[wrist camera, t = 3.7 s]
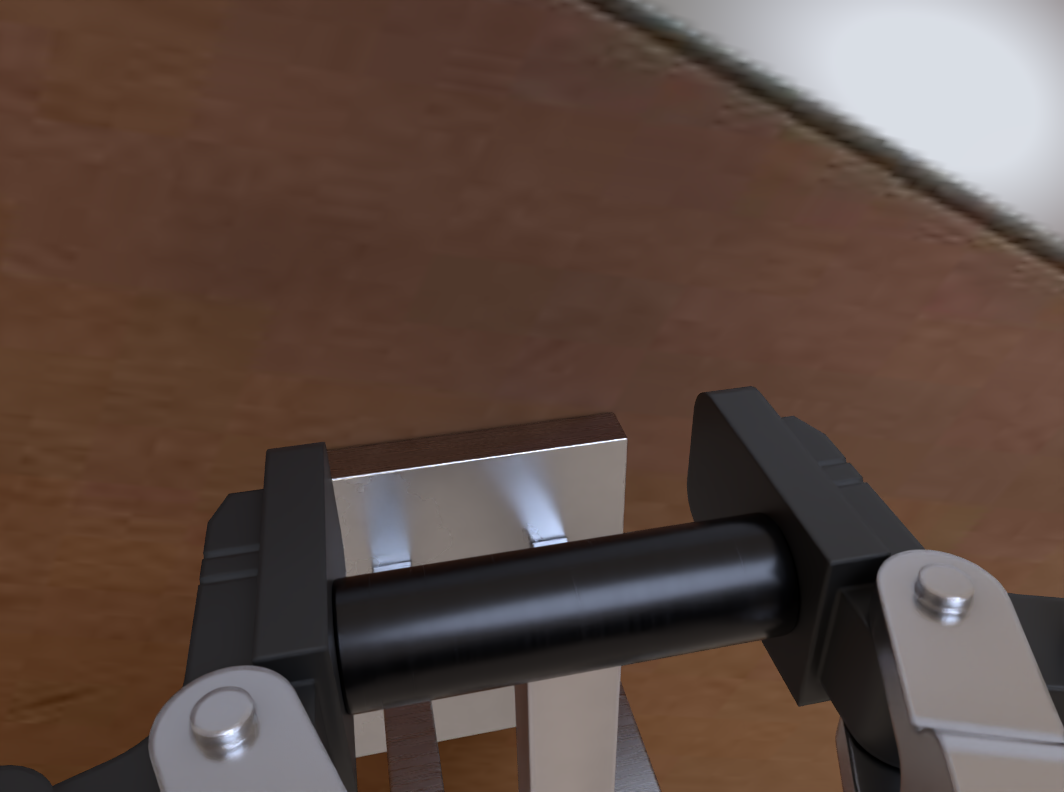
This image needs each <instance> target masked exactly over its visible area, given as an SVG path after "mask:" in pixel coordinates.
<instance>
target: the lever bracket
mask: <svg viewBox="0 0 1064 792" xmlns="http://www.w3.org/2000/svg"><path fill="white" fill-rule="evenodd" d="M627 441H628V439H627V437H626V435H625V433H624V431H623V429H622V427H621V425H620V423H619V422H618V420H617V418H616V416H615V414H614V413H608V414H600V415H593V416H585V417H578V418H570V419H563V420H555V421H548V422H540V423H533V424H526V425H518V426H511V427H503V428H496V429H488V430H481V431H473V432H466V433H458V434H451V435H443V436H436V437H428V438H421V439H413V440H406V441H398V442H391V443H383V444H376V445H369V446H361V447H354V448H346V449H339V450H331V451H327V454H328V459H329V465H330V471H331V477H332V482H333V488H334V494H335V500H336V505H337V511H338V517H339V522H340V528H341V534H342V541H343V548H344V556H345V566H346V577H348V576H355V575H361V574H368V573H374V572H380V571H387V570H393V569H399V568H406V567H412V566H418V565H425V564H431V563H437V562H444V561H450V560H456V559H463V558H469V557H475V556H482V555H488V554H494V553H501V552H507V551H513V550H520V549H526V548H532V547H539V546H545V545H551V544H558V543H564V542H570V541H577V540H583V539H589V538H596V537H602V536H608V535H615V534H621V533H623V522H624V501H625V481H626V461H627ZM513 727H516V714H515V690H514V686H509V687H503V688H498V689H492V690H487V691H481V692H476V693H470V694H465V695H460V696H454V697H449V698H443V699H438V700H432V701H427V702H421V703H416V704H411V705H405V706H400V707H394V708H389V709H383V710H378V711H372V712H367V713H362V714H356V715H354V733H355V752H356V757H361V756H367V755H372V754H377V753H382V752H387V758H388V770H389V782H390V792H444V785H443V778H442V771H441V764H440V757H439V750H438V743H437V742H440V741H445V740H450V739H455V738H460V737H466V736H471V735H476V734H481V733H487V732H492V731H497V730H502V729H507V728H513ZM614 792H661V789H660V786H659V783H658V781H657V778H656V775H655V773H654V770H653V767H652V765H651V762H650V759H649V756H648V754H647V751H646V748H645V746H644V743H643V740H642V737H641V735H640V732H639V729H638V727H637V724H636V721H635V719H634V716H633V713H632V710H631V708H630V705H629V702H628V700H627V697H626V694H625V692H624V689H623V686H622V683H621V681H620V694H619V713H618V732H617V750H616V769H615V788H614Z"/></svg>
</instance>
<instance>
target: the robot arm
mask: <svg viewBox="0 0 1064 792" xmlns="http://www.w3.org/2000/svg"><path fill="white" fill-rule="evenodd" d="M687 493H688V501H689V506H690V510H691V513H692V516H693V519H694V522H697V521H704V520H710V519H716V518H723V517H729V516H735V515H742V514H748V513H754V512H760V513H764V514H766V515H768V516H769V517H771V518H772V519H773V520H774V521H775V522H776V524H777V525H778V526H779V528H780V529H781V531H782V533H783V535H784V537H785V538H786V541H787V543H788V545H789V548H790V550H791V553H792V556H793V559H794V563H795V567H796V571H797V576H798V583H799V592H800V609H799V616H798V620H797V623H796V626H795V627H794V629H793V630H792V631H791V632H790V633H789V634H787V635H785V636H781V637H775V638H770V639H764V640H761V641H762V643H763V644H764V646H765V648H766V650H767V651H768V653H769V655H770V657H771V659H772V660H773V662H774V664H775V666H776V667H777V669H778V671H779V673H780V674H781V676H782V678H783V680H784V682H785V683H786V685H787V687H788V689H789V690H790V692H791V694H792V696H793V697H794V699H795V701H796V703H797V705H798V706H804V705H809V704H814V703H819V702H824V701H829V700H831V701H832V703H833V705H834V706H835V708H836V710H837V711H838V713H839V715H840V719H839V723H838V727H837V731H836V748H837V755H838V761H839V768H840V774H841V780H842V787H843V792H1064V598H1056V597H1044V596H1032V595H1020V594H1012V593H1007V592H1006V590H1005V589H1004V588H1003V586H1002V585H1001V584H1000V583H999V582H998V581H997V580H996V579H995V578H994V577H993V576H992V575H991V574H989V573H988V572H987V571H985V570H984V569H982V568H981V567H979V566H977V565H976V564H974V563H972V562H970V561H968V560H966V559H963V558H961V557H958V556H955V555H952V554H949V553H945V552H940V551H934V550H925V549H924V547H923V546H922V545H921V544H920V543H919V542H918V541H917V539H916V538H915V537H914V536H913V535H912V534H911V533H910V531H909V530H908V529H907V528H906V527H905V526H904V524H903V523H902V522H901V521H900V520H899V519H898V518H897V516H896V515H895V514H894V513H893V512H892V511H891V510H890V508H889V507H888V506H887V505H886V504H885V503H884V501H883V500H882V499H881V498H880V497H879V496H878V495H877V493H876V492H875V491H874V490H873V489H872V488H871V487H870V485H869V484H868V483H864V482H863V477H862V476H861V475H860V474H859V473H858V472H857V470H856V469H855V468H854V467H853V466H852V465H851V464H850V463H846V458H845V457H844V456H843V454H842V453H841V452H840V451H839V450H838V449H837V447H836V446H835V445H834V444H833V443H832V442H831V441H830V439H829V438H828V437H827V436H826V435H825V434H823V433H822V432H820V431H818V430H817V429H815V428H813V427H812V426H810V425H808V424H807V423H805V422H803V421H801V420H800V419H798V418H796V417H795V416H789V417H782V418H781V417H780V416H779V415H778V414H777V412H776V411H775V410H774V409H773V408H772V406H771V405H770V404H769V403H768V401H767V400H766V399H765V398H764V397H763V395H762V394H761V393H760V392H759V391H758V390H757V389H756V388H755V387H752V386H749V387H741V388H734V389H726V390H718V391H711V392H703V393H700V394H699V395H698V397H697V399H696V402H695V406H694V415H693V425H692V436H691V446H690V456H689V467H688V477H687ZM203 554H204V559H202V565H201V572H200V585H198V592H197V599H196V605H195V612H194V619H193V626H192V632H191V639H190V646H189V653H188V659H187V666H186V673H185V680H184V684H183V688H181V689H180V690H179V691H178V692H177V693H176V694H174V695H173V696H172V697H171V698H170V699H169V700H168V702H167V703H166V704H165V705H164V706H163V707H162V709H161V710H160V712H159V713H158V715H157V716H156V719H155V721H154V723H153V725H152V727H151V731H150V735H149V736H148V737H146V738H145V739H144V740H143V741H141V742H140V743H139V744H137V745H136V746H134V747H133V748H131V749H129V750H128V751H126V752H125V753H123V754H121V755H119V756H117V757H115V758H113V759H111V760H109V761H107V762H105V763H102V764H100V765H98V766H96V767H93V768H91V769H89V770H87V771H85V772H82V773H80V774H78V775H76V776H74V777H71V778H69V779H67V780H65V781H63V782H60V783H58V784H56V785H54V786H52V785H51V783H50V782H49V781H48V780H47V779H46V778H45V777H44V776H43V775H42V774H41V773H39V772H37V771H35V770H33V769H30V768H26V767H23V766H13V765H6V766H0V792H358V791H357V772H356V752H355V733H354V715H349V714H348V713H347V711H346V709H345V705H344V701H343V696H342V691H341V685H340V678H339V672H338V664H337V656H336V647H335V638H334V627H333V613H332V584H333V581H334V580H335V579H337V578H342V577H346V566H345V556H344V548H343V541H342V534H341V528H340V522H339V517H338V511H337V505H336V500H335V494H334V488H333V482H332V477H331V471H330V465H329V459H328V454H327V449H326V445H325V442H319V443H312V444H304V445H297V446H289V447H281V448H274V449H268V450H267V452H266V462H265V476H264V489H260V490H253V491H246V492H239V493H231V494H228V496H227V497H226V498H225V500H224V501H223V503H222V504H221V505H220V507H219V508H218V509H217V511H216V512H215V514H214V515H213V516H212V518H211V519H210V520H209V522H208V525H207V531H206V538H205V545H204V552H203Z"/></svg>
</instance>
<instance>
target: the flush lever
mask: <svg viewBox="0 0 1064 792" xmlns="http://www.w3.org/2000/svg"><path fill="white" fill-rule="evenodd" d="M799 609H800V592H799V583H798V576H797V571H796V567H795V563H794V559H793V556H792V553H791V550H790V548H789V545H788V543H787V541H786V538H785V537H784V535H783V533H782V531H781V529H780V528H779V526H778V525H777V524H776V522H775V521H774V520H773V519H772V518H771V517H769V516H768V515H766V514H764V513H760V512H754V513H748V514H742V515H735V516H729V517H723V518H716V519H710V520H704V521H697V522H691V523H685V524H678V525H672V526H666V527H659V528H653V529H647V530H640V531H634V532H627V533H621V534H615V535H608V536H602V537H596V538H589V539H583V540H577V541H570V542H564V543H558V544H551V545H545V546H539V547H532V548H526V549H520V550H513V551H507V552H501V553H494V554H488V555H482V556H475V557H469V558H463V559H456V560H450V561H444V562H437V563H431V564H425V565H418V566H412V567H406V568H399V569H393V570H387V571H380V572H374V573H368V574H361V575H355V576H348V577H342V578H337V579H335V580H334V581H333V584H332V613H333V627H334V638H335V647H336V656H337V664H338V672H339V678H340V685H341V691H342V696H343V701H344V705H345V709H346V711H347V713H348V714H349V715H356V714H362V713H367V712H372V711H378V710H383V709H389V708H394V707H400V706H405V705H411V704H416V703H421V702H427V701H432V700H438V699H443V698H449V697H454V696H460V695H465V694H470V693H476V692H481V691H487V690H492V689H498V688H503V687H509V686H514V690H515V714H516V737H517V761H518V785H519V792H614V788H615V769H616V750H617V732H618V713H619V694H620V675H621V666H623V665H628V664H634V663H639V662H645V661H650V660H655V659H661V658H666V657H672V656H677V655H683V654H688V653H694V652H699V651H704V650H710V649H715V648H721V647H726V646H732V645H737V644H743V643H748V642H753V641H759V640H764V639H770V638H775V637H781V636H785V635H787V634H789V633H790V632H791V631H792V630H793V629H794V627H795V626H796V623H797V620H798V616H799Z"/></svg>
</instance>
